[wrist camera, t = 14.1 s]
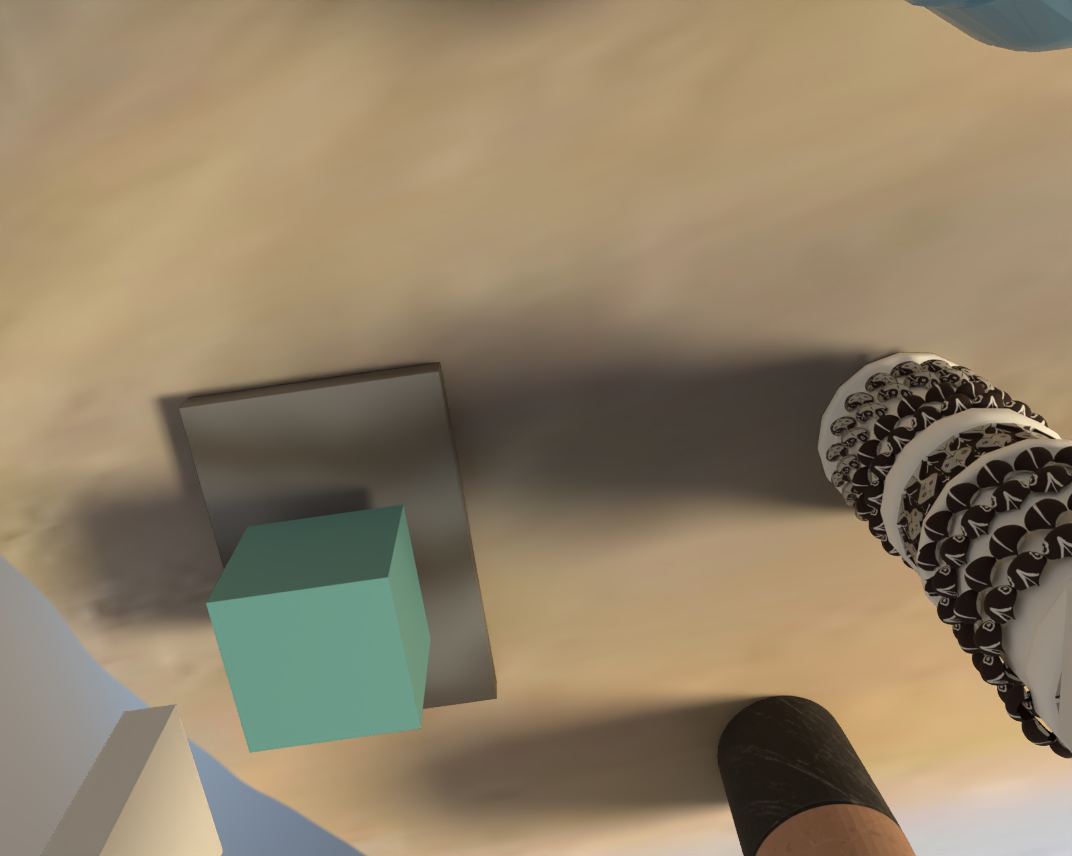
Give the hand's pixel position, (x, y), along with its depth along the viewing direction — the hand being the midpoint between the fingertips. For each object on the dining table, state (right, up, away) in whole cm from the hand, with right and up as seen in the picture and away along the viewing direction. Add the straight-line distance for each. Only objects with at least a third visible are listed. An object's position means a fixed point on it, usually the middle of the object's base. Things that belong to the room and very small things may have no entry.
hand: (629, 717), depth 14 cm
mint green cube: (-11, -3, +31) cm, 33 cm away
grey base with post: (-11, -2, +34) cm, 36 cm away
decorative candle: (+17, +4, +33) cm, 38 cm away
